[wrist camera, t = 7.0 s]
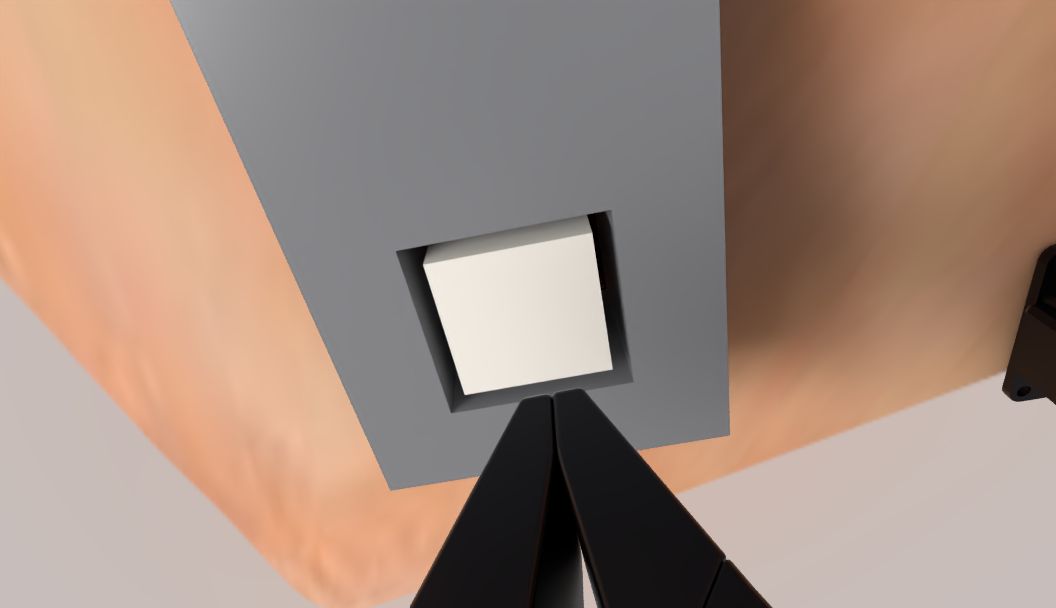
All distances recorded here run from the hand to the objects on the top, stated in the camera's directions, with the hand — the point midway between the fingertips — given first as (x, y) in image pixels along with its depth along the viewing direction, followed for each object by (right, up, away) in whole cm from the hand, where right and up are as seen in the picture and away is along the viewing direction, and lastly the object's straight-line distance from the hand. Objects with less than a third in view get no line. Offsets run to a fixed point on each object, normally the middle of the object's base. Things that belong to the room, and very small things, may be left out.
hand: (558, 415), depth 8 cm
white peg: (-1, +4, +11) cm, 12 cm away
